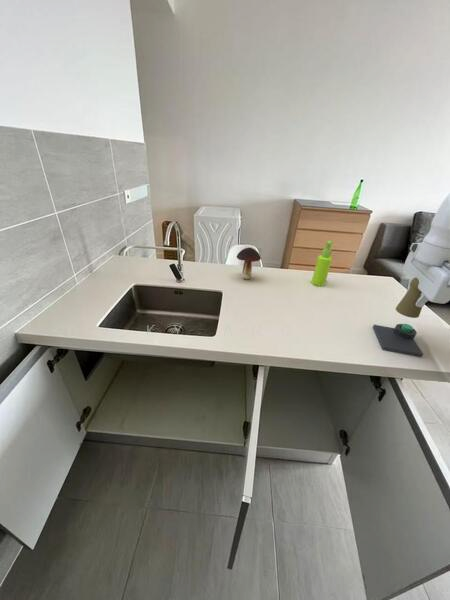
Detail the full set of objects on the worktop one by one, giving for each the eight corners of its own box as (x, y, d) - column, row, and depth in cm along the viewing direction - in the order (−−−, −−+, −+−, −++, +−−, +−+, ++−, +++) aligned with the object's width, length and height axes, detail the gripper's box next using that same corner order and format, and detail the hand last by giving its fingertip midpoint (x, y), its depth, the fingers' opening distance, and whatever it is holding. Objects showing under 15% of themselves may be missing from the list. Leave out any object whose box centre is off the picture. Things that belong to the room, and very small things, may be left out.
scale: (408, 332, 85) (412, 325, 83) (424, 358, 74) (429, 351, 72) (371, 326, 87) (374, 319, 85) (382, 350, 76) (385, 342, 74)
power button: (409, 328, 82) (411, 324, 81) (412, 333, 80) (414, 330, 79) (399, 326, 83) (401, 322, 82) (402, 331, 80) (404, 328, 79)
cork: (399, 315, 70) (417, 282, 64) (392, 304, 75) (408, 272, 69) (422, 319, 69) (443, 285, 63) (414, 308, 74) (432, 275, 68)
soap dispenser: (326, 282, 115) (338, 240, 105) (323, 287, 110) (335, 245, 100) (313, 278, 118) (324, 238, 107) (310, 284, 113) (321, 242, 102)
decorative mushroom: (230, 278, 113) (232, 247, 105) (243, 271, 121) (246, 242, 113) (250, 286, 108) (254, 254, 100) (262, 278, 115) (266, 247, 108)
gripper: (476, 272, 54) (444, 322, 61) (433, 244, 71) (412, 286, 78) (444, 268, 55) (416, 318, 62) (409, 241, 72) (390, 283, 79)
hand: (413, 300), depth 70 cm, fingers closed on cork, 4 cm apart
